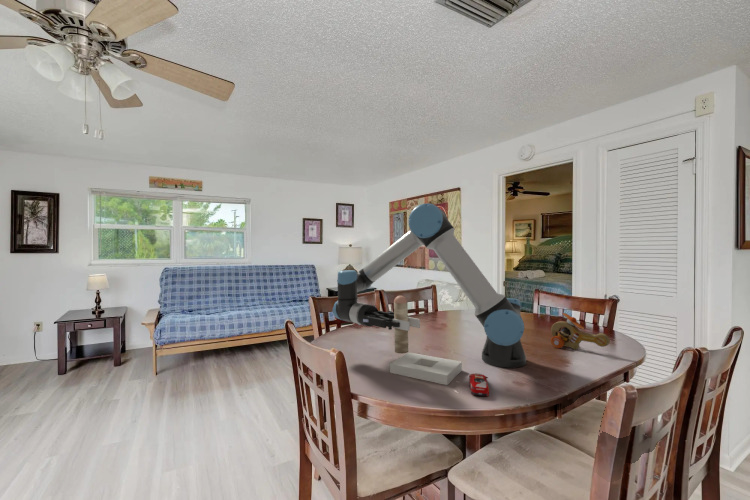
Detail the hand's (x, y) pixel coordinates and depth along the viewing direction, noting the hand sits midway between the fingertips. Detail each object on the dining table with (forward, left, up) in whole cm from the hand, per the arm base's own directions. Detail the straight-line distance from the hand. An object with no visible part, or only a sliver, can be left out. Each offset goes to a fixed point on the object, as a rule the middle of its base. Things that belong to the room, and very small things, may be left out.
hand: (413, 324), depth 106 cm
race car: (-19, -5, -18) cm, 27 cm away
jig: (0, -9, -18) cm, 20 cm away
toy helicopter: (-42, -61, -18) cm, 76 cm away
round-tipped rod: (+5, -1, -10) cm, 11 cm away
